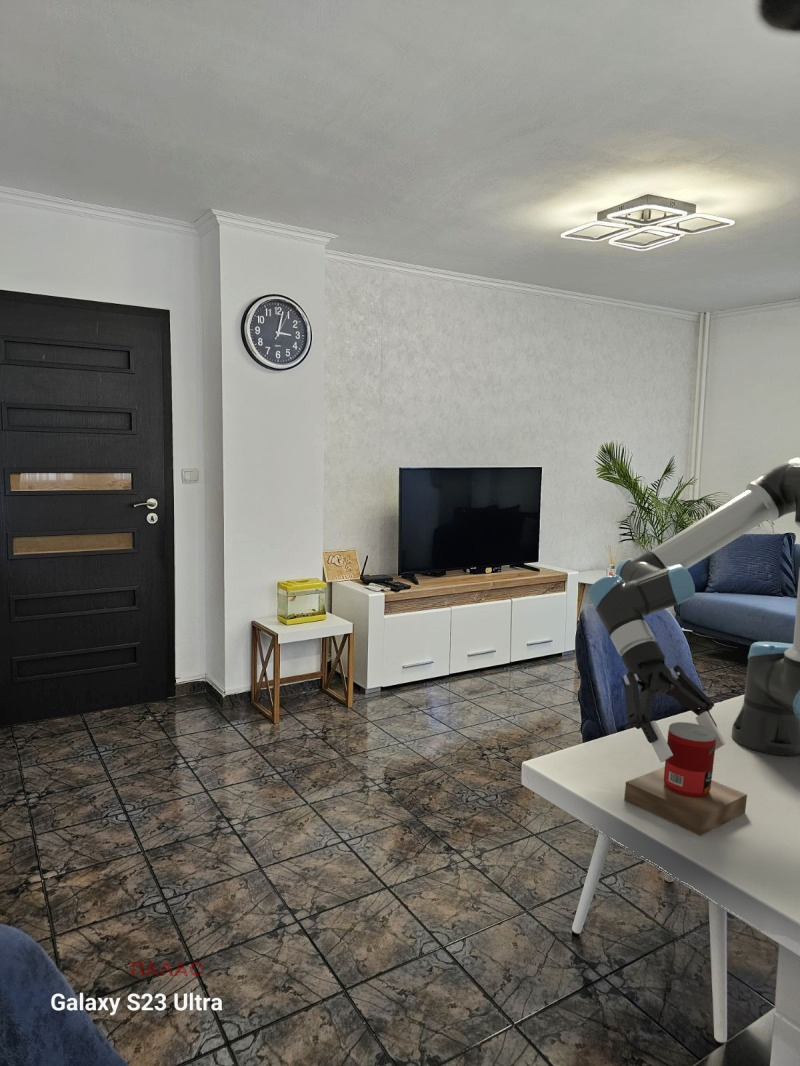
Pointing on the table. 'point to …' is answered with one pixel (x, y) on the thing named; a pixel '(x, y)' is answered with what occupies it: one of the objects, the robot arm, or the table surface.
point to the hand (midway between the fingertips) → (694, 753)
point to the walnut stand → (685, 803)
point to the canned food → (690, 759)
